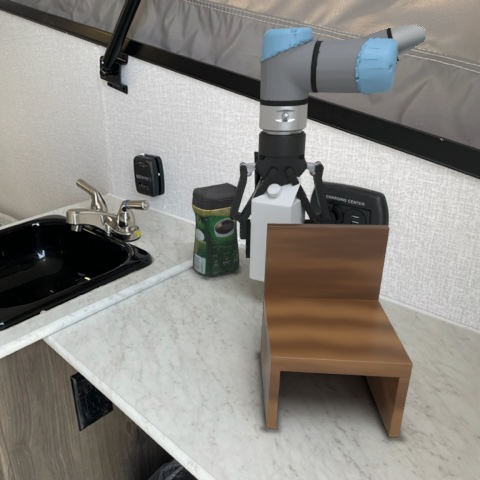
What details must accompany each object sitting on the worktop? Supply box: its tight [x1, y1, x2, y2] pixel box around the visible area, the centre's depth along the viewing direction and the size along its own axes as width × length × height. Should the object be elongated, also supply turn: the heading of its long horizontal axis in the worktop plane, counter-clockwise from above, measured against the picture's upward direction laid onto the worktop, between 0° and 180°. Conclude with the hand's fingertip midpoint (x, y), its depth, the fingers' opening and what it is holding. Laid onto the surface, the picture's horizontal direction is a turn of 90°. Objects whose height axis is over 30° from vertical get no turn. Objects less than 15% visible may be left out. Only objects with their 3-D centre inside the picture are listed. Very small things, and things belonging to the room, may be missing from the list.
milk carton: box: [249, 176, 308, 283], centre depth 87 cm, size 7×7×19 cm
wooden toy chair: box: [259, 223, 414, 438], centre depth 65 cm, size 16×16×22 cm
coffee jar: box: [191, 182, 241, 278], centre depth 103 cm, size 10×8×19 cm
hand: (276, 255), depth 89 cm, fingers closed on milk carton, 9 cm apart
